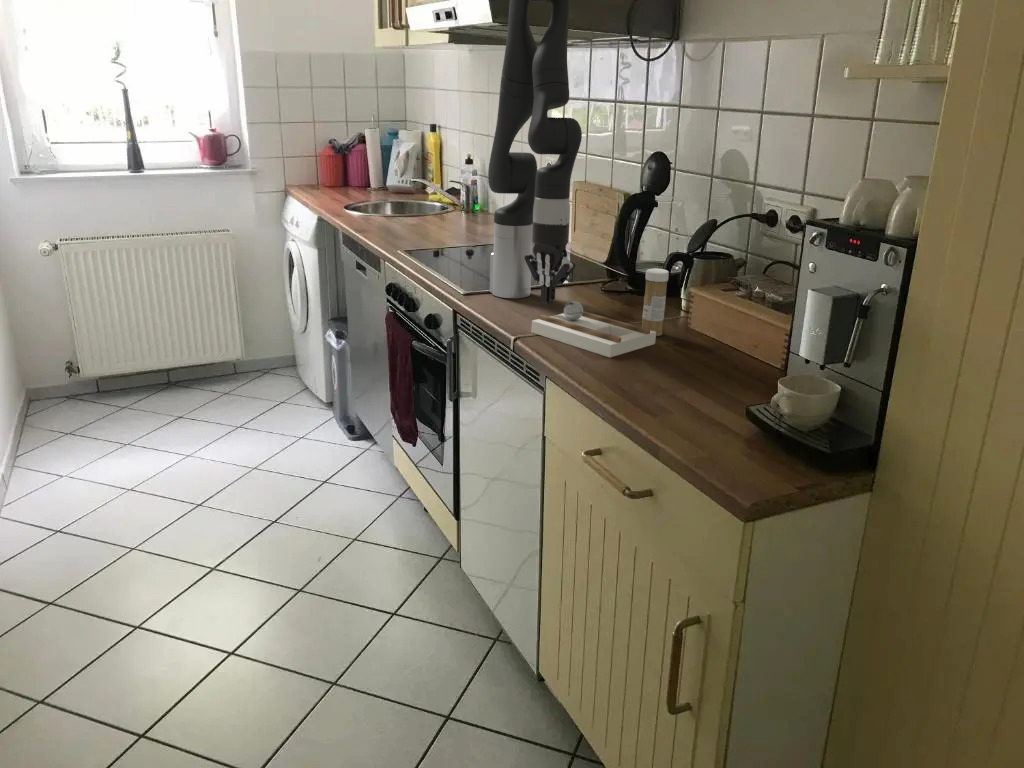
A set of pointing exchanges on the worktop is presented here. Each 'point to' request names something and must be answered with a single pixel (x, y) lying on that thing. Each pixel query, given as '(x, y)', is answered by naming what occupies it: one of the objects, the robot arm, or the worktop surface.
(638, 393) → the worktop surface
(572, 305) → the ball
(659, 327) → the sprinkles bottle
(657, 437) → the worktop surface
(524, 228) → the robot arm
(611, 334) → the track board
